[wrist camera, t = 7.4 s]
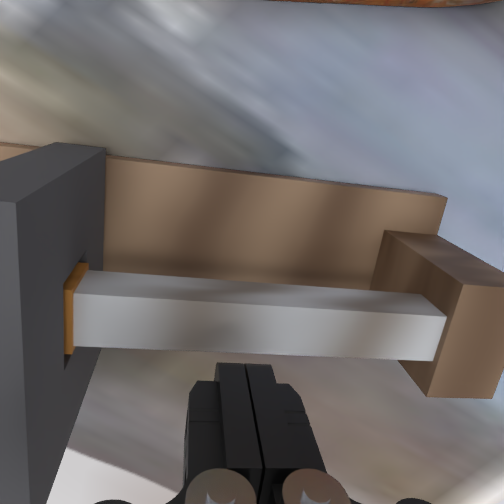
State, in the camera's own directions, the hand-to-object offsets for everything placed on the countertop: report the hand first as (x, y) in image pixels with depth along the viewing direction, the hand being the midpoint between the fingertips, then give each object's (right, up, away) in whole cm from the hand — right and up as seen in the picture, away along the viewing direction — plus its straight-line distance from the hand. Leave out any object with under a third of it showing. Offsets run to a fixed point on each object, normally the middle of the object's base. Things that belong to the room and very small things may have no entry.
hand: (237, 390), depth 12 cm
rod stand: (-2, +4, +10) cm, 11 cm away
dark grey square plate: (-8, +4, +8) cm, 11 cm away
